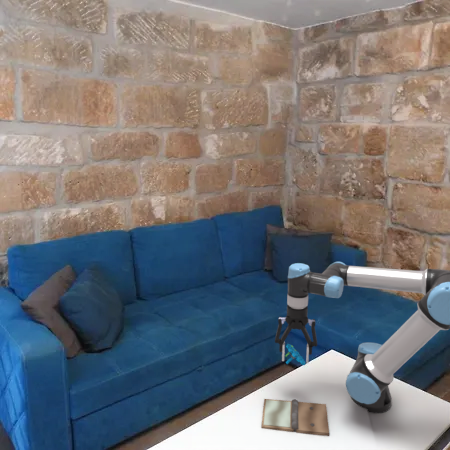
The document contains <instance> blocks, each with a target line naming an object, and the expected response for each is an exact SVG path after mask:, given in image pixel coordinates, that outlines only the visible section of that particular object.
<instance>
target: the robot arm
mask: <svg viewBox="0 0 450 450" xmlns="http://www.w3.org/2000/svg"><path fill="white" fill-rule="evenodd" d="M344 286H347V287H355V288H356V287H358V288H359V287H360V288H368V289H378V290H386V291H396V292H398V291H399V292H404V293H405V292H407V293H415V294H423V295H424V296H422V298H421V299H420V300H419V301H418V302H417V310H416V311H415V312H414V313H413V314H412V315H411V316H410V317H409V318H408V319H407V320H406V321H405V322H403V324H402V325H401V326H400V327H399V328H398V329H397V331H395V332H394V333H393V334H392V335H391V336H390V337H389V338H388V339H387V340H386V341H385V342H384V343H383V344H380V343H377V342H362V343H360V344H358V349H357V357H356V359H355V360H356V361H355V362H354V364H353V366H352V368H351V369H350V371H349V373H348V374H347V375H346V376H347V377H346V380H345V389H346V391H347V392H348V394H349V396H350V399H351V400H352V402H354V403H355V404H356V405H358V406H359V407H361V408H363V409H366V411H367V412H368V413H372V414H381V413H385V412H387V411H389V410H391V407H392V403H393V402H392V401H393V399H392V398H393V397H392V395H391V392H390V388H389V385H391V383H393V382H394V374H395V373H396V372H397V371H398V370H399V369H401V368H402V366H403V365H404V364H405V363H407V362H408V361H409V360H410V359H411V358H412V357H413V356H414V355H415V354H416V353H417V352H418V351H420V350H421V348H423V347H424V346H425V345H426V344H427V343H428V342H429V341H430V340H431V339H433V337H434V336H435V335H436V334H437V333H438V332H440V331H448V330H450V270H448V269H439V268H438V269H437V268H426V269H425V270H411V269H397V268H396V269H395V268H386V267H385V268H383V267H370V266H358V265H357V266H356V265H347V264H345V263H344V262H342V261H335V262H333V263H331V264H329V266H328V267H326V269H325V270H324V271H323V272H322V273H318V272H312V271H311V270H310V266H309V265H308V264H305V263H300V262H297V263H292V264H291V265H290V266H288V275H287V296H286V297H287V298H286V299H287V301H286V304H287V305H286V315H285V317H282V316H278V321H277V322H278V325H277V330H276V334H275V339H274V343H275V344H279V349H278V350H279V351H278V352H280V353H282V354H281V361H282V362H285V355H286V352H285V351H286V350H285V347H286V342H285V341H286V339H287V337H288V336H289V334H290V333H291V331H292V330H299V331H300V330H301V332H302V334H303V336H304V338H305V341H306V343H307V344H306V356H305V357H306V358H305V359H306V360H305V363H306V364H309V360H310V359H309V358H310V357H309V355H310V356H311V355H313V353H312V352H313V347H317V346H318V340H317V333H316V328H315V327H316V319H315V318H313V319H310V318H309V317H308V309H309V308H308V305H309V294H312V295H313V294H314V295H318V296H323V297H326V298H333V299H339V298H341V297H342V295H343V291H344ZM285 322H286V324H287V327H286V329H285V330H284V332H283V334H282V335H281V331H282V329H283V328H282V326H283V324H285ZM306 325H309V326H311V327H310V328H311V336H312V340H311V337H310V335H309V332H308V330H307V328H306ZM280 335H281V338H280Z"/></svg>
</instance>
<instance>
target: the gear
mask: <svg viewBox="0 0 450 450" xmlns="http://www.w3.org/2000/svg"><path fill="white" fill-rule="evenodd" d="M285 347H286V348H287V351H288V352H287V353H285V354H284V357H285V358H288V356H289V355H290V357H289V358H288V359H287V360H286V361H285V363H286V365H289V364H290V362H292V360H296V361H297V362H298V363H300V364H301V365H302V366H306V365H307V363H306V360H305V359H304V357H303V356H302V355H301V354H300V352H299V351H298V350H296V349H295V347H294V346H293V345H292V344H290V343H285Z"/></svg>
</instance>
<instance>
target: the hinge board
mask: <svg viewBox="0 0 450 450" xmlns="http://www.w3.org/2000/svg"><path fill="white" fill-rule="evenodd" d="M262 407H263V408H262V417H261V419H262V420H261V429H264V430H272V431H274V430H275V431H281V432H287V433H288V432H289V433H297V434H306V435H313V436H314V435H317V436H324V437H325V436H326V437H330V428H329V419H328V410H327V403H316V402H305V401H298V399H295V398H293V399H292V400H283V399H282V400H281V399H270V398H263V406H262Z"/></svg>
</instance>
